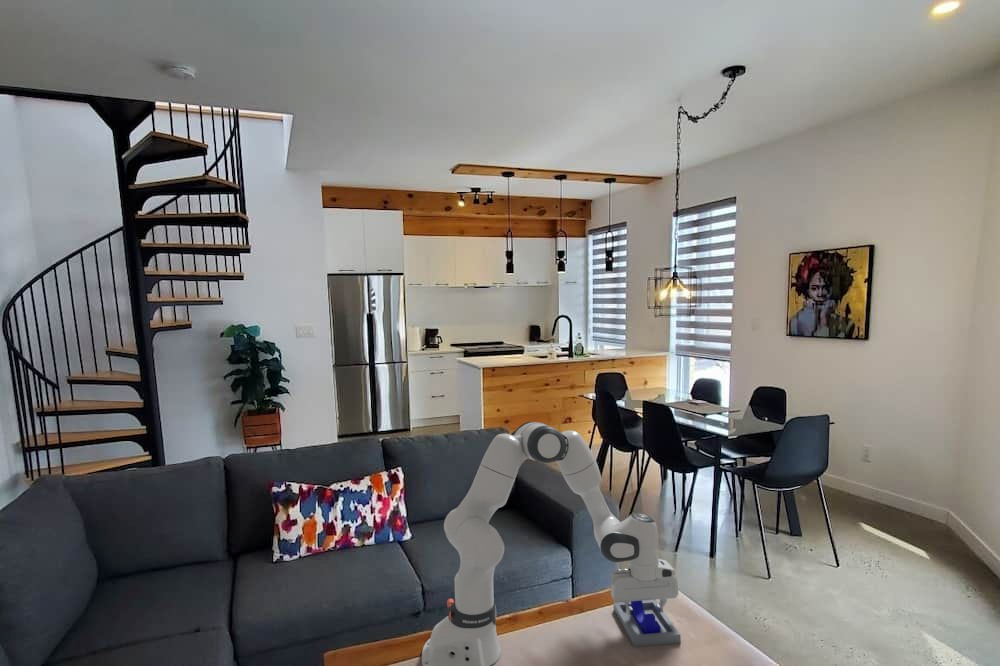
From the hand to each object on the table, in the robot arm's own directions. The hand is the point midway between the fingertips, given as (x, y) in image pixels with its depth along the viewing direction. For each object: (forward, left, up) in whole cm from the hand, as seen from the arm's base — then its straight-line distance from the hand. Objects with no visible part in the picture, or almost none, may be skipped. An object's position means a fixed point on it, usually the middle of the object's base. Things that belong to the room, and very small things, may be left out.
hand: (644, 612), depth 149 cm
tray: (0, 0, -4) cm, 4 cm away
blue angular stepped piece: (0, -1, -4) cm, 4 cm away
